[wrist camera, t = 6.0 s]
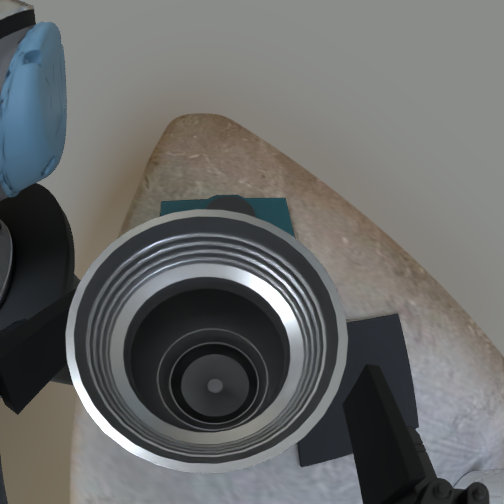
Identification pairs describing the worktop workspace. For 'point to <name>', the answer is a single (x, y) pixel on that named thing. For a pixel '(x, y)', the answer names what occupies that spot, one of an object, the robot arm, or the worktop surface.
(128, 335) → the silver bottle
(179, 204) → the teal pump base
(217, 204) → the button
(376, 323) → the mat
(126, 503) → the worktop surface
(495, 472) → the white cup
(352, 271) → the worktop surface
